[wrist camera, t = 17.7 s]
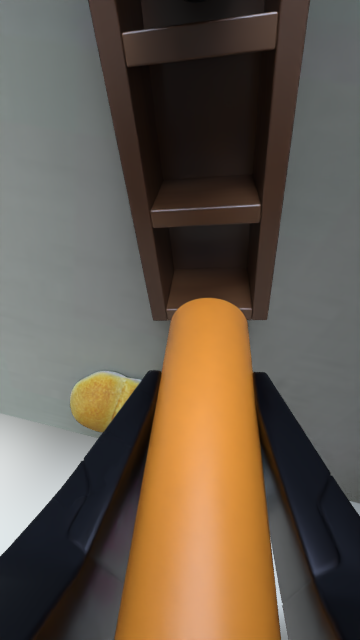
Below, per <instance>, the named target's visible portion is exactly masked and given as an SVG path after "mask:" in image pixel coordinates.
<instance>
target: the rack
mask: <svg viewBox="0 0 360 640" xmlns="http://www.w3.org/2000/svg"><path fill="white" fill-rule="evenodd" d="M88 2H89V7H90V12H91V17H92V22H93V27H94V32H95V37H96V42H97V46H98V51H99V56H100V61H101V66H102V71H103V76H104V81H105V86H106V91H107V96H108V101H109V105H110V110H111V115H112V120H113V125H114V130H115V135H116V140H117V145H118V150H119V155H120V160H121V164H122V169H123V174H124V179H125V184H126V189H127V194H128V199H129V204H130V209H131V214H132V219H133V223H134V228H135V233H136V238H137V243H138V248H139V253H140V258H141V263H142V268H143V273H144V277H145V282H146V287H147V292H148V297H149V302H150V307H151V312H152V317H153V320H154V321H166V320H167V319H168V320H171V319H172V317H173V315H174V313H175V312H176V311H177V310H178V309H179V308H180V307H181V306H182V305H184V304H185V303H187V302H189V301H192V300H195V299H200V298H216V299H221V300H224V301H227V302H229V303H231V304H233V305H235V306H236V307H237V308H238V309H240V310H241V312H242V313H243V314H244V316H245V318H246V320H251V319H252V320H267V317H268V310H269V302H270V295H271V287H272V280H273V272H274V265H275V258H276V250H277V243H278V235H279V228H280V220H281V213H282V205H283V198H284V191H285V183H286V176H287V168H288V161H289V153H290V146H291V139H292V131H293V124H294V116H295V109H296V101H297V94H298V86H299V79H300V72H301V64H302V57H303V49H304V42H305V34H306V27H307V19H308V12H309V5H310V0H206V1H203V2H195V3H194V2H188V1H185V0H88Z"/></svg>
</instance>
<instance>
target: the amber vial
mask: <svg viewBox="0 0 360 640" xmlns="http://www.w3.org/2000/svg"><path fill="white" fill-rule="evenodd" d="M252 374H253V370H252V361H251V352H250V342H249V333H248V324H247V320H246V318H245V316H244V314H243V313H242V312H241V310H240V309H238V308H237V307H236V306H235V305H233V304H231V303H229V302H227V301H224V300H221V299H216V298H200V299H195V300H192V301H189V302H187V303H185V304H184V305H182V306H181V307H180V308H179V309H178V310H177V311H176V312H175V313H174V315H173V317H172V319H171V323H170V329H169V334H168V340H167V346H166V351H165V357H164V362H163V368H162V374H161V379H160V385H159V391H158V396H157V402H156V407H155V413H154V419H153V424H152V430H151V435H150V441H149V447H148V452H147V458H146V463H145V469H144V475H143V480H142V486H141V491H140V497H139V503H138V508H137V514H136V520H135V525H134V531H133V536H132V542H131V548H130V553H129V559H128V564H127V570H126V576H125V581H124V587H123V592H122V598H121V604H120V609H119V615H118V621H117V626H116V632H115V637H114V640H281V635H280V625H279V616H278V606H277V597H276V587H275V578H274V568H273V559H272V549H271V540H270V531H269V521H268V512H267V502H266V493H265V484H264V474H263V465H262V455H261V446H260V436H259V428H258V421H257V414H256V406H255V396H254V386H253V377H252Z"/></svg>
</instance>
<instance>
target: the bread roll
mask: <svg viewBox="0 0 360 640" xmlns="http://www.w3.org/2000/svg"><path fill="white" fill-rule="evenodd" d="M140 382H141V380H138V379H134V378H127V377H125V376H123V375H121V374H119V373H116V372H112V371H99V372H96V373H94V374H91V375H89V376H87V377H85V378H83V379H82V380H80V381H79V382H78V383H77V384H76V385H75V386H74V388H73V390H72V393H71V398H70V407H71V411H72V414H73V416H74V417H75V419H76V420H77V421H78V422H79V423H80V424H82V425H83V426H85V427H87V428H89V429H92V430H95V431H98V432H104V430H105V429H106V428H107V426H108V425H109V424H110V422H111V421H112V420H113V418H114V417H115V416H116V414H117V413H118V411H119V410H120V409H121V407H122V406H123V405H124V403H125V402H126V401H127V399H128V398H129V397H130V395H131V394H132V393H133V391H134V390H135V388H136V387H137V386H138V384H139V383H140Z"/></svg>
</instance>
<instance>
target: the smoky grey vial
mask: <svg viewBox="0 0 360 640" xmlns="http://www.w3.org/2000/svg"><path fill="white" fill-rule="evenodd" d="M185 1H188V2H194V3H195V2H203V1H206V0H185Z"/></svg>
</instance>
